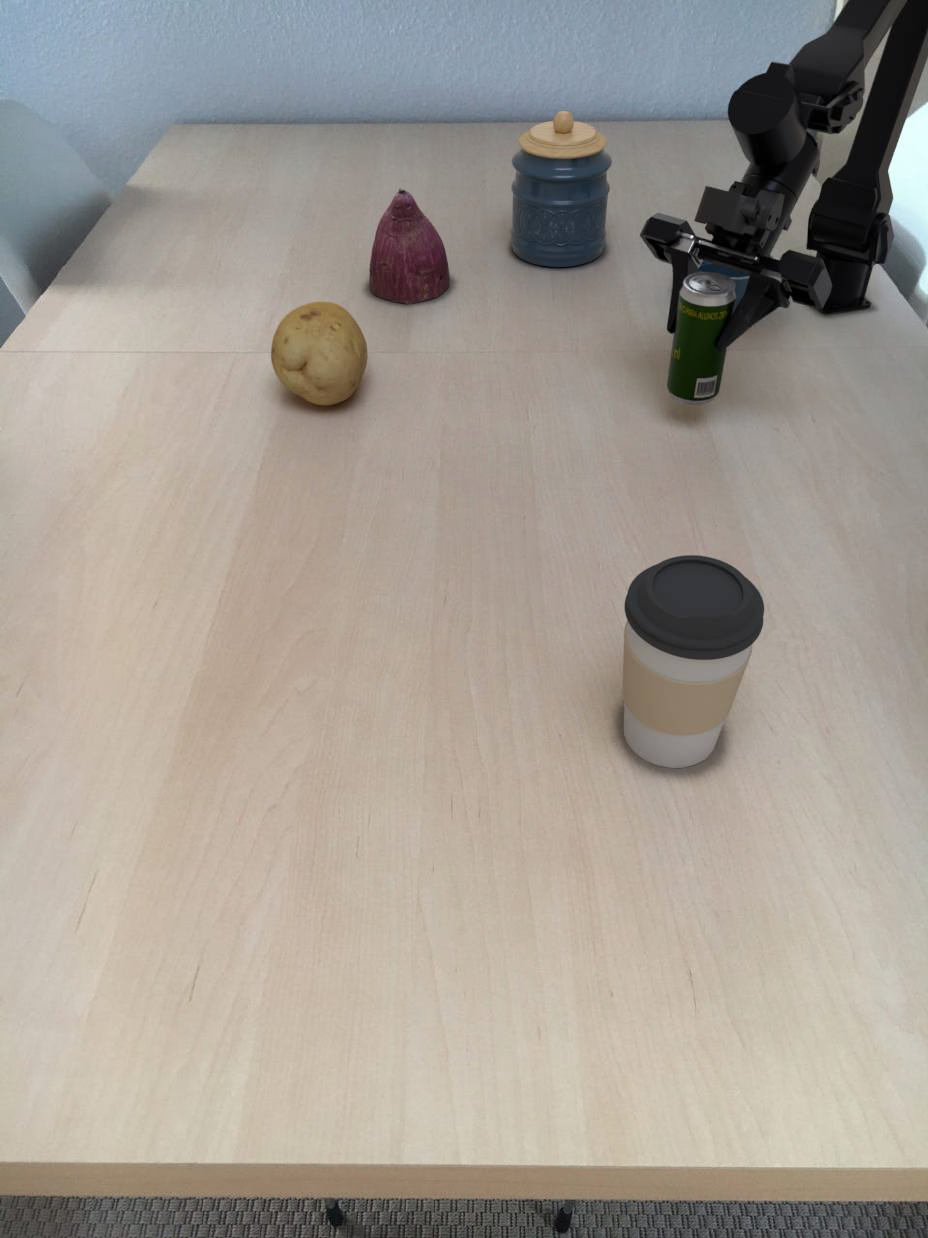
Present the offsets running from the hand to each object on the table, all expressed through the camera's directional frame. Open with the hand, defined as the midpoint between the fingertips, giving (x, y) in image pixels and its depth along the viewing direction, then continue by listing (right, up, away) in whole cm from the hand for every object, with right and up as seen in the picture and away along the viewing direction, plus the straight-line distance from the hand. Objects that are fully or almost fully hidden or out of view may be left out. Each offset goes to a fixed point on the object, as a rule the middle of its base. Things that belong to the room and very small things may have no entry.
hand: (693, 340), depth 97 cm
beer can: (+1, -4, +5) cm, 7 cm away
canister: (-10, +24, +39) cm, 47 cm away
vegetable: (-30, +16, +32) cm, 46 cm away
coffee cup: (-7, -36, -23) cm, 43 cm away
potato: (-38, -2, +13) cm, 40 cm away
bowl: (+10, +13, +28) cm, 32 cm away
